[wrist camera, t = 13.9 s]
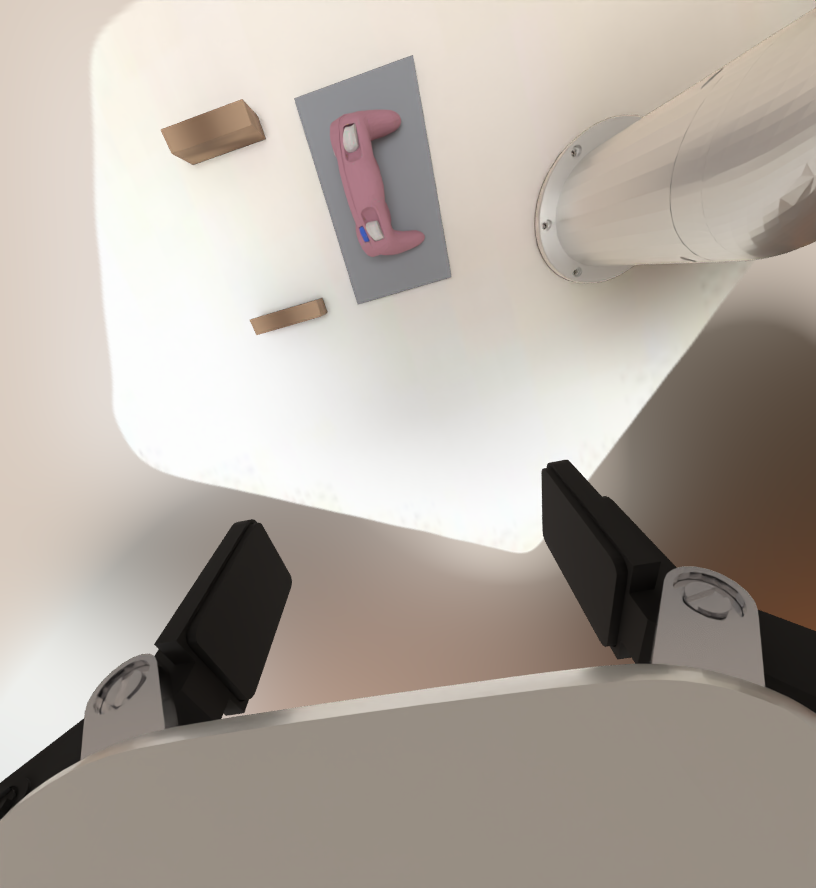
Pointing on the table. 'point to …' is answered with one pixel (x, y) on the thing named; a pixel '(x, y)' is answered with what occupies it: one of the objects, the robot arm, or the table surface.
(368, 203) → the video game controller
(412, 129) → the mat
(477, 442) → the table surface
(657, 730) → the robot arm
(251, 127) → the dock
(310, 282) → the table surface
